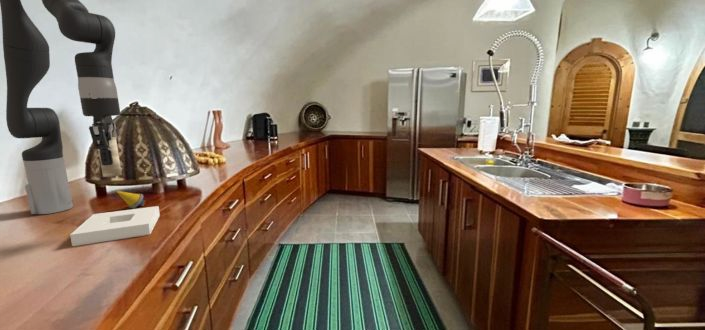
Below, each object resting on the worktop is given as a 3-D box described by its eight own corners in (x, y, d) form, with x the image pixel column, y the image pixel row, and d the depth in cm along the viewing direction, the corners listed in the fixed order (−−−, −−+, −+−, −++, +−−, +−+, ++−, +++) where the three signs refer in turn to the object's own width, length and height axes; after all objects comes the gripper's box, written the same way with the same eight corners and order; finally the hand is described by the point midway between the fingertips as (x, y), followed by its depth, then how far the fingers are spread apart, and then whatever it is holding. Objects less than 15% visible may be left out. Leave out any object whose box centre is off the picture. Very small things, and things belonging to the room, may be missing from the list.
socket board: (72, 246, 74) (70, 234, 74) (95, 224, 89) (93, 214, 88) (150, 234, 81) (148, 223, 80) (159, 215, 95) (158, 206, 94)
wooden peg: (100, 177, 79) (93, 138, 77) (105, 174, 83) (99, 137, 81) (119, 175, 81) (113, 137, 79) (123, 173, 84) (117, 136, 83)
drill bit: (148, 209, 103) (118, 194, 96) (136, 214, 104) (107, 200, 97) (152, 196, 106) (124, 181, 99) (142, 201, 108) (113, 187, 101)
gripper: (90, 97, 83) (101, 160, 86) (68, 95, 70) (82, 169, 73) (124, 97, 86) (133, 158, 89) (108, 95, 73) (120, 166, 76)
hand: (110, 163), depth 81 cm, fingers closed on wooden peg, 4 cm apart
